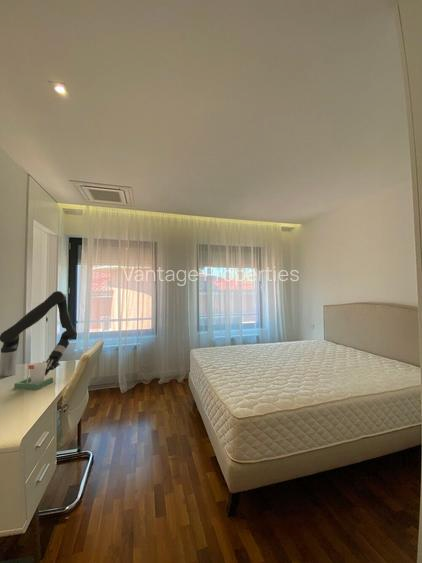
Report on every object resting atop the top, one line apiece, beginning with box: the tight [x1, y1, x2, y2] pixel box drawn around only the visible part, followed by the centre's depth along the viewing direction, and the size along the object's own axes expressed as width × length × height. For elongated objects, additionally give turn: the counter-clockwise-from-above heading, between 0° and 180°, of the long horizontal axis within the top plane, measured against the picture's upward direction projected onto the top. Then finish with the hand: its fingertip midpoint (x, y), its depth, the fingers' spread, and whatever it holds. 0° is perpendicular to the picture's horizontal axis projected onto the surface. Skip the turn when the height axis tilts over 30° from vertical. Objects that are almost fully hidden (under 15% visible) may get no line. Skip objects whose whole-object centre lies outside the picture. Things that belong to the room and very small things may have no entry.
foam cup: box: [29, 361, 47, 384], centre depth 155 cm, size 10×9×13 cm
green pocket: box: [13, 364, 54, 391], centre depth 153 cm, size 16×13×15 cm
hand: (43, 375), depth 160 cm, fingers closed
